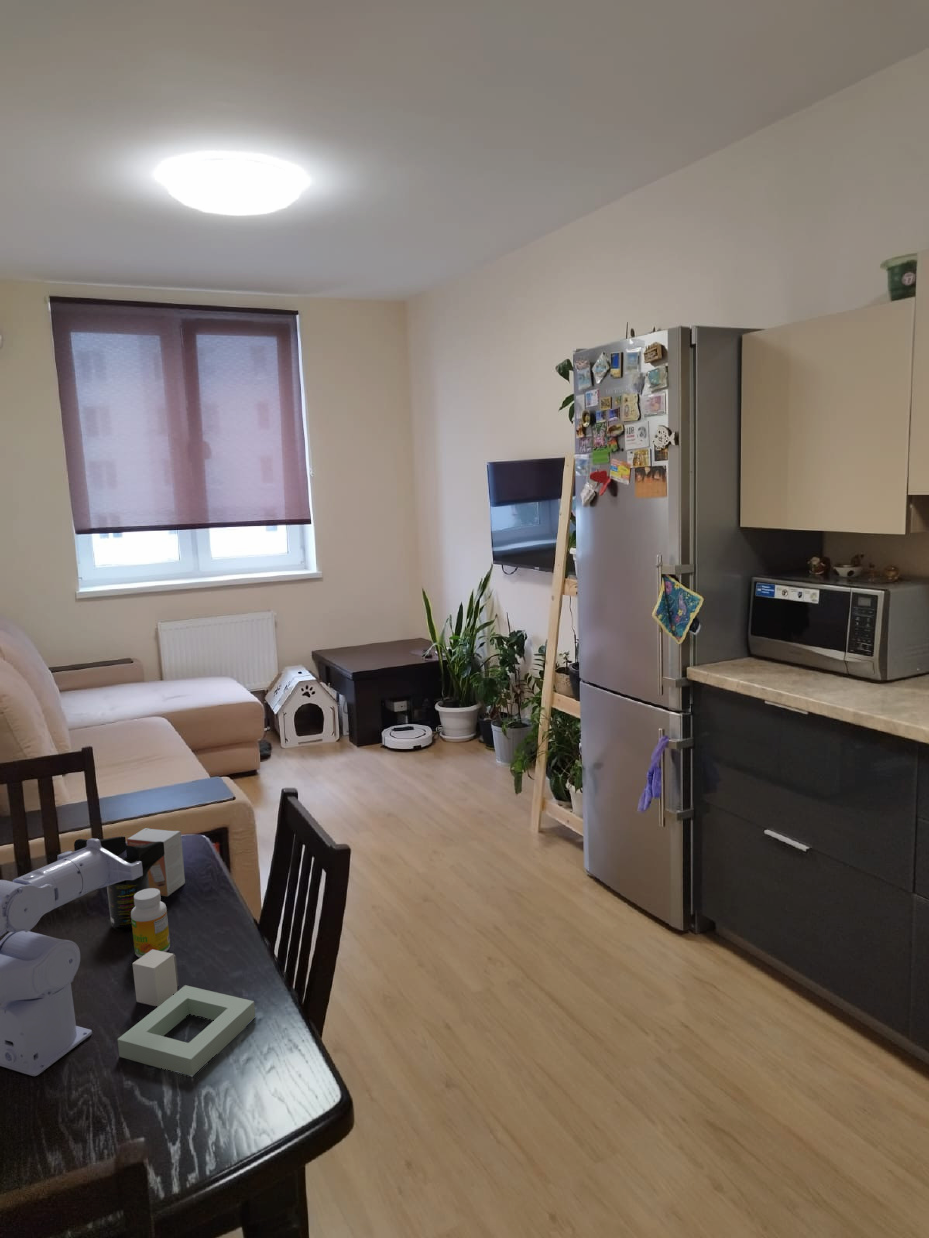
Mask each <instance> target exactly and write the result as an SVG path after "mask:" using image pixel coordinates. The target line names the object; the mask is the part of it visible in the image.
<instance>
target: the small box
mask: <svg viewBox="0 0 929 1238" xmlns="http://www.w3.org/2000/svg"><path fill="white" fill-rule="evenodd" d="M158 841H161V842H164V852H165V854H164V856H163V857H161V858H160V859H159V860H158V861H157V862H156V863H155V864H154V865H153V866H152V867H151V868H150V869H149V871H148V879H149V888H155V889H158V890H159V891H160V895H161V896H162V897H169V896H171V895H172V893H173V894H174V892H176V891H177V890H178V889H180V888H181V887H182V886H184V884H186V879H185V876H186V875H185V866H184V853H183V852H184V851H183V843H182V832H181V831H180V830H165V829H157V828H149V827H145V828H143V829H141V830H140V831H138V832H136V833H135V834H133V835H131V836H130V837H128V838H126V845H129V846H141V845H146V844H149V843H152V842H158Z"/></svg>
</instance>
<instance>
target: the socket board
mask: <svg viewBox="0 0 929 1238" xmlns="http://www.w3.org/2000/svg"><path fill="white" fill-rule="evenodd" d="M189 1014H191V1015H190V1016H193V1015H195V1016H194V1017H197V1016H203V1017H205V1018H208V1019H207V1020H209V1019H211V1020H210V1021H212V1022H211V1023H209V1024H208V1025H207V1026H206V1027H205V1028H204V1029H203V1030H202V1031H201V1032H199V1033H198V1034H196V1036H195V1037H193V1038H192V1039H191V1040H190V1041H189V1042H186V1041H182V1040H178V1039H174V1038H171V1037H167V1036H165V1035H166V1034H168V1033H169V1032H170V1031H171V1030H173V1028H175V1027H176V1026H177V1025H178V1024H180V1023H181V1022H182V1021H183V1020H184V1019H186V1018H187V1017H188V1016H189ZM187 1015H188V1016H187ZM186 1016H187V1017H186ZM255 1016H256V1006H255V1001H254V1000H250V999H246V998H241V997H238V996H234V995H230V994H229V995H228V994H224V993H220V992H216V991H211V990H208V989H207V990H206V989H203V988H199V987H195V986H190V985H186V984H185V985H183V986H182V987H181V988H180V989H179V990H177V992H176V993H175V994H174V995H172V996H171V997H170V998H169V999H167V1000H166V1001H165V1002H164V1003H162V1004H161V1005H160V1006H158V1007H156V1008H155V1009H154V1010H152V1011H151V1012H149V1014H147V1015H145V1017H144V1018H142V1019H141V1020H140V1021H139V1022H137V1023H136V1024H134V1026H132V1027H131V1028H130V1029H129V1030H127V1031H126V1032H125V1033H123V1034H122V1035H120V1037H118V1038H117V1040H116V1041H117V1047H118V1056H119V1057H120V1058H123V1059H126V1060H130V1061H133V1062H137V1063H140V1064H144V1065H147V1066H151V1067H155V1068H158V1069H161V1068H162V1069H161V1070H165V1069H166V1070H165V1071H168V1070H171V1071H170V1072H172V1071H179V1072H181V1073H182V1072H183V1073H184V1074H189V1075H194V1074H195V1073H196V1072H197V1071H199V1069H200V1068H201V1067H202V1066H203V1065H204V1064H206V1063H207V1062H208V1061H209V1060H210V1059H211V1058H212V1057H214V1056H215V1055H216V1054H217V1055H218V1054H219V1053H221V1051H222V1050H224V1048H225V1047H227V1046H228V1045H229V1044H230V1043H231V1042H232V1041H233V1040H234V1039H235V1038H236V1037H237V1036H238V1035H239V1034H240V1033H241V1032H243V1031H244V1030H245V1028H246V1027H245V1026H247V1024H248V1023H249V1022H250V1021H251V1020H253V1018H254V1017H255ZM205 1018H204V1019H205ZM213 1020H214V1021H213ZM253 1021H254V1020H253ZM217 1055H216V1056H217ZM216 1056H215V1057H216ZM215 1057H214V1058H215ZM207 1064H208V1063H207ZM207 1064H206V1065H207ZM167 1069H168V1070H167ZM199 1072H200V1071H199Z"/></svg>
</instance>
